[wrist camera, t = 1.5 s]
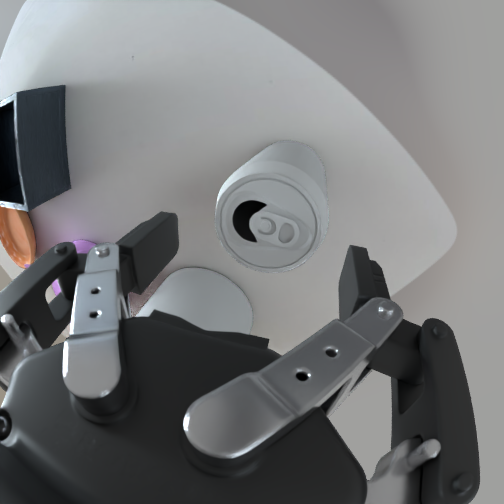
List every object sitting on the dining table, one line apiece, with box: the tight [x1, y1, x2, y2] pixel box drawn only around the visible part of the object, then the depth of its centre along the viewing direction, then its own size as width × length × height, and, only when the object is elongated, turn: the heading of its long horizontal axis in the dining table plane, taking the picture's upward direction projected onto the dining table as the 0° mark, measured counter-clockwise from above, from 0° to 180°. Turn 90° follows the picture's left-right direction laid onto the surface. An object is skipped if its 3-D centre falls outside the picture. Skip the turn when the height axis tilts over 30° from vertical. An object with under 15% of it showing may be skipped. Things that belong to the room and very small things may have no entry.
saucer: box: [0, 206, 36, 269], centre depth 37 cm, size 16×16×3 cm
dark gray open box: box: [0, 85, 71, 211], centre depth 25 cm, size 15×15×8 cm
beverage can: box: [215, 140, 329, 273], centre depth 19 cm, size 6×6×12 cm
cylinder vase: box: [136, 267, 253, 334], centre depth 24 cm, size 12×12×25 cm
